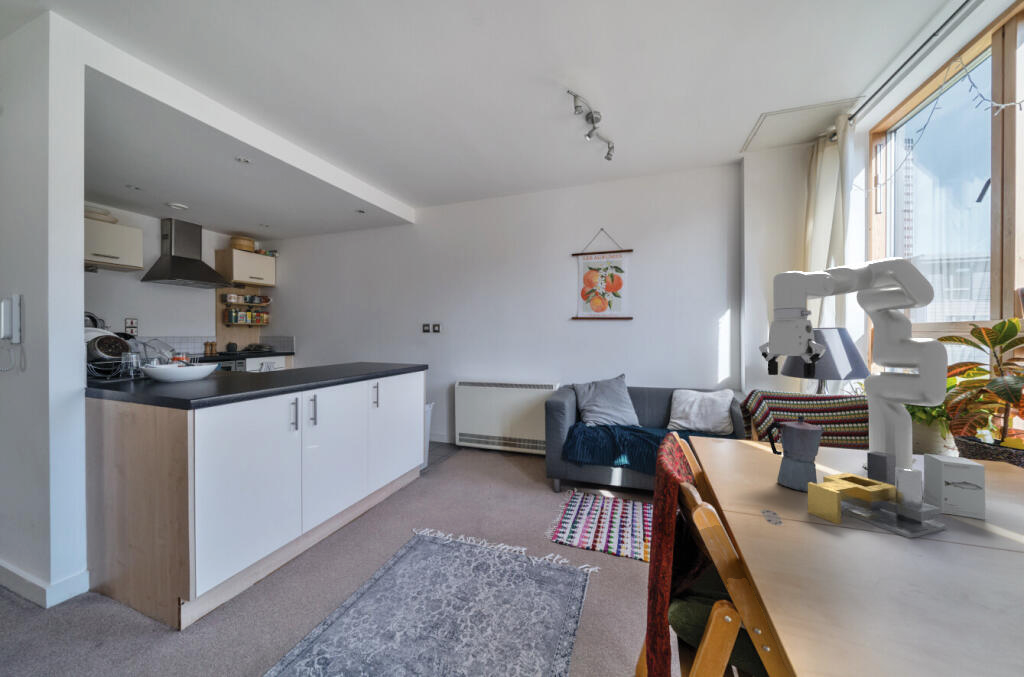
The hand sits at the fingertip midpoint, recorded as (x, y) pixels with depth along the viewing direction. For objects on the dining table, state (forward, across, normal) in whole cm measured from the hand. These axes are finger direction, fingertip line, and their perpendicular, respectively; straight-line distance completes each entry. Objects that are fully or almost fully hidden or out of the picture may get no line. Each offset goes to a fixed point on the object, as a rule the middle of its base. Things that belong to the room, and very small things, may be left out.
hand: (790, 376), depth 101 cm
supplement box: (+32, -22, -23) cm, 45 cm away
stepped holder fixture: (+31, -18, +2) cm, 36 cm away
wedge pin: (+31, -11, -18) cm, 38 cm away
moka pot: (+31, 0, -2) cm, 31 cm away
